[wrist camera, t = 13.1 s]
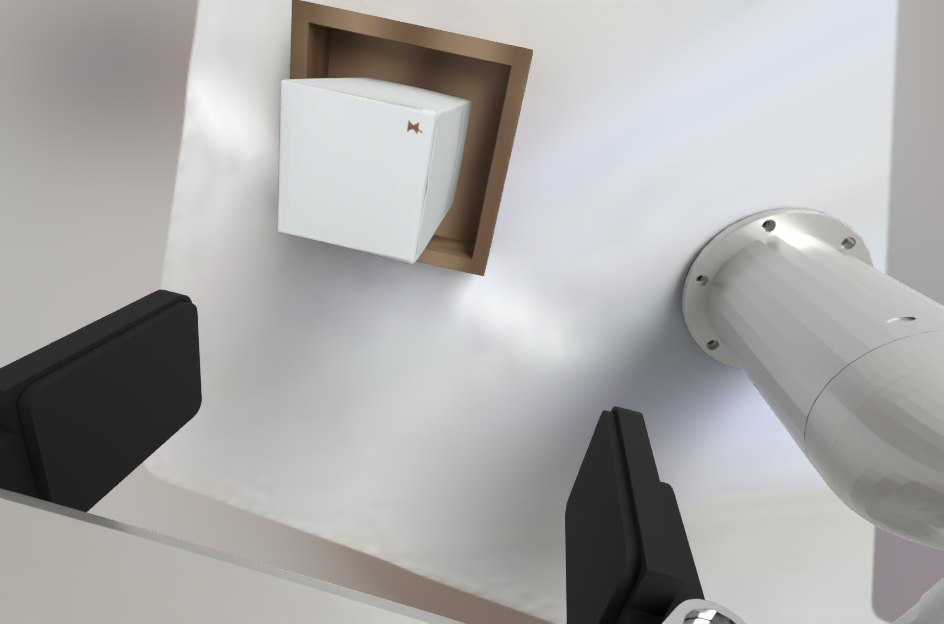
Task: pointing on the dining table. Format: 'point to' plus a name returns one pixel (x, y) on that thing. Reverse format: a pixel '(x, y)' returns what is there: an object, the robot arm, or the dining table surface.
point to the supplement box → (368, 163)
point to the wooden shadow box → (440, 70)
